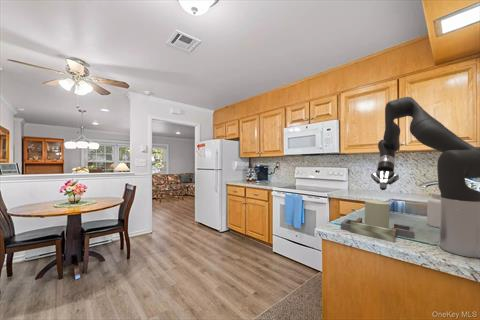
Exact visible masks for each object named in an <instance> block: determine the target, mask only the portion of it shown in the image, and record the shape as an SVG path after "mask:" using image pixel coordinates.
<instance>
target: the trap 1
mask: <svg viewBox="0 0 480 320" xmlns="http://www.w3.org/2000/svg"><path fill="white" fill-rule="evenodd" d="M356 220H357V219H355V220H354V219H351V218H350V219H349V218H345V219H344V220H343V221H342V222H340V230H344V231H348V232H350V224H351V222H355V221H356Z"/></svg>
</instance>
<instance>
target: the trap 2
mask: <svg viewBox="0 0 480 320" xmlns="http://www.w3.org/2000/svg"><path fill="white" fill-rule="evenodd" d="M397 224H398V226H397V228H396V236H398V235H400V236H399V237H403V236H404V238H408V239H414V234H415V233H414V226H411V225H407V224H406V225H405V224H400V223H397Z"/></svg>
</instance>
